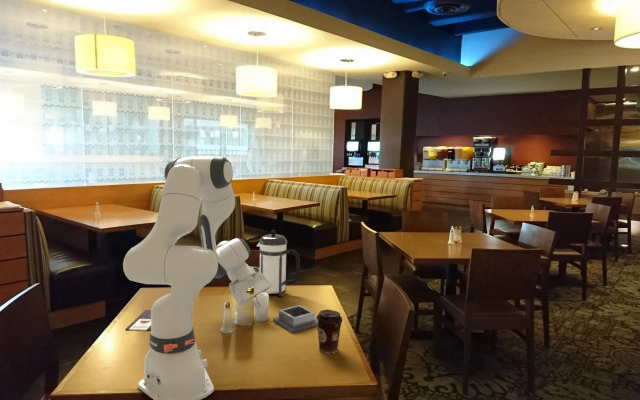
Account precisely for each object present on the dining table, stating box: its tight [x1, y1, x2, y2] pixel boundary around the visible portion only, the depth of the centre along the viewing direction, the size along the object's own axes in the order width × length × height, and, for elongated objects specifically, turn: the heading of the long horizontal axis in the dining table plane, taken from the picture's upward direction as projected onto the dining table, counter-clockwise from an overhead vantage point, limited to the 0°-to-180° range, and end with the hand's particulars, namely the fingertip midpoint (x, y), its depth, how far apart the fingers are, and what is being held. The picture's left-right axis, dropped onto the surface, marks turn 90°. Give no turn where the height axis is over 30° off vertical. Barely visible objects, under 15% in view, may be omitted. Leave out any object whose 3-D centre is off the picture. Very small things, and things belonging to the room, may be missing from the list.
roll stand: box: [272, 304, 318, 334], centre depth 162 cm, size 13×13×5 cm
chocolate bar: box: [125, 309, 151, 332], centre depth 161 cm, size 9×1×18 cm
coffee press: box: [256, 229, 301, 298], centre depth 195 cm, size 17×16×30 cm
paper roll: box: [254, 292, 270, 323], centre depth 165 cm, size 5×5×10 cm
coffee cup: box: [315, 309, 343, 355], centre depth 141 cm, size 9×8×13 cm
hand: (263, 305), depth 165 cm, fingers closed on paper roll, 5 cm apart
